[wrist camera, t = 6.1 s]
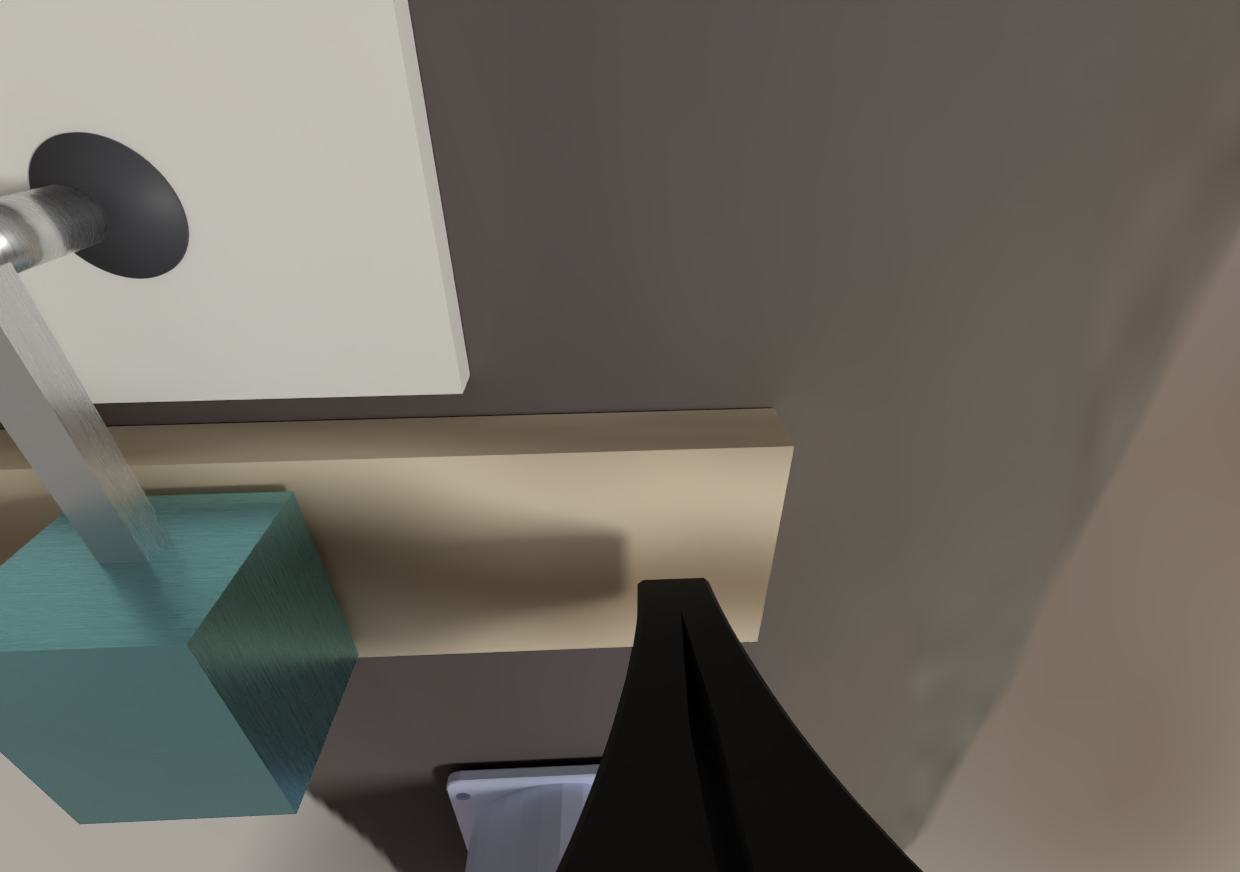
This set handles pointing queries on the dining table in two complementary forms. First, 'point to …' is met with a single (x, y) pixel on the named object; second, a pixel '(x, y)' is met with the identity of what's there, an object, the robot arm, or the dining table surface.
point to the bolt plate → (235, 197)
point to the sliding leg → (148, 599)
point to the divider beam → (485, 515)
